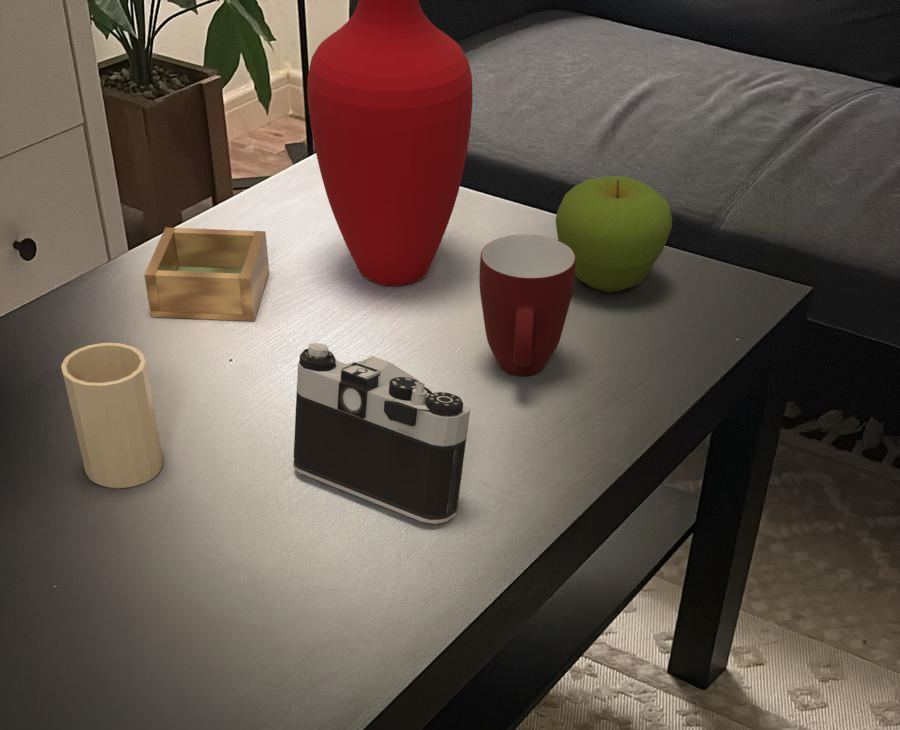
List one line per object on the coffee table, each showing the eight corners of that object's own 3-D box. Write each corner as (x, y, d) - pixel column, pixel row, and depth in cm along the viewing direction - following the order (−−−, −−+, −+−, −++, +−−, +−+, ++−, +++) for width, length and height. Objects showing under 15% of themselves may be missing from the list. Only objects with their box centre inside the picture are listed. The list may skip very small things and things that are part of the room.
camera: (500, 487, 104) (519, 366, 98) (430, 532, 97) (445, 405, 91) (353, 432, 109) (362, 314, 103) (275, 471, 102) (279, 346, 96)
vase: (350, 228, 132) (335, -120, 110) (487, 251, 130) (500, -102, 107) (295, 293, 123) (266, -74, 101) (441, 319, 120) (444, -53, 98)
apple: (533, 293, 124) (540, 188, 116) (580, 250, 130) (589, 148, 123) (635, 322, 120) (649, 215, 113) (679, 277, 127) (695, 173, 119)
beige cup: (76, 486, 101) (52, 383, 95) (95, 442, 106) (72, 341, 99) (154, 489, 101) (135, 386, 95) (169, 446, 105) (152, 344, 99)
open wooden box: (151, 317, 120) (143, 274, 117) (171, 268, 126) (165, 227, 123) (254, 321, 119) (249, 278, 116) (269, 272, 126) (265, 231, 123)
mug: (575, 403, 111) (586, 292, 103) (483, 405, 110) (487, 294, 103) (560, 341, 118) (569, 233, 110) (472, 343, 117) (476, 234, 110)
